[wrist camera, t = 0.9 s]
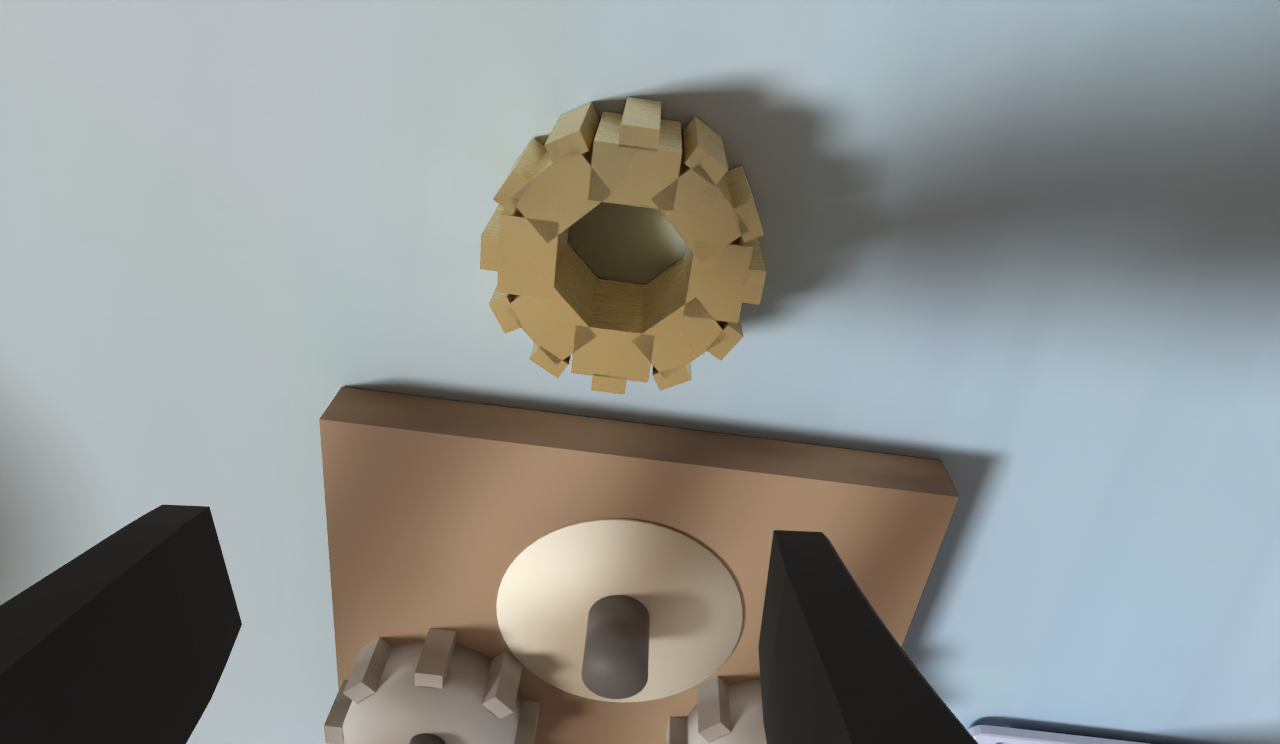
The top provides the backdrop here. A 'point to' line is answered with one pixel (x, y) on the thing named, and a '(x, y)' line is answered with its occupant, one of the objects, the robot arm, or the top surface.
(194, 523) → the robot arm
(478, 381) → the top surface
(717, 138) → the brass gear
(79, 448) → the top surface
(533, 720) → the gear board
